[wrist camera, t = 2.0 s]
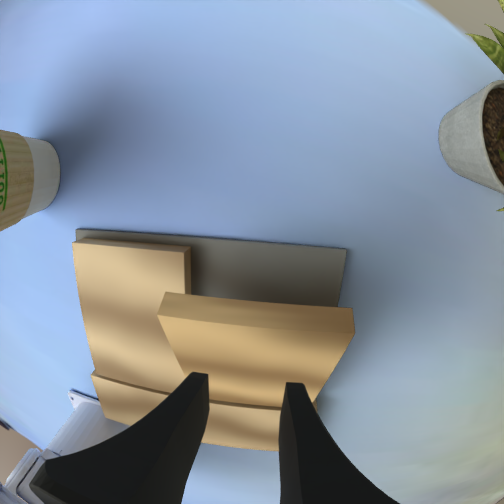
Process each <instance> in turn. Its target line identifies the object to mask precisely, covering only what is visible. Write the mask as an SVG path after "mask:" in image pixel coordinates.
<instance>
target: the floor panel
mask: <svg viewBox="0 0 504 504" xmlns="http://www.w3.org/2000/svg"><path fill="white" fill-rule="evenodd" d="M75 231H76V241H75V242H72V247H73V257H74V266H75V274H76V281H77V287H78V294H79V300H80V305H81V311H82V316H83V321H84V326H85V330H86V335H87V339H88V343H89V347H90V351H91V355H92V359H93V363H94V367H95V370H94V371H93V373H92V374H91V378H92V381H93V384H94V387H95V390H96V393H97V396H98V399H99V402H100V405H101V408H102V410H103V413H104V416H105V418H108V419H111V420H114V421H117V422H120V423H123V424H127V425H130V426H131V425H133V424H134V423H136V422H137V421H139V420H140V419H141V418H143V417H144V416H145V415H147V414H148V413H149V412H150V411H152V410H153V409H154V408H155V407H157V406H158V405H159V404H160V403H161V402H162V401H163V400H164V399H165V398H166V397H168V396H169V395H170V394H171V393H172V392H173V391H174V390H175V389H176V388H177V387H178V386H179V385H180V384H181V383H182V382H183V380H184V379H185V378H186V377H185V375H184V373H183V371H182V369H181V367H180V365H179V363H178V361H177V359H176V356H175V354H174V352H173V350H172V348H171V346H170V344H169V341H168V339H167V337H166V335H165V332H164V330H163V328H162V326H161V323H160V321H159V319H158V316H157V313H158V310H159V308H160V305H161V302H162V299H163V296H164V294H165V292H173V293H181V294H189V295H198V296H207V297H216V298H226V299H236V300H246V301H257V302H268V303H281V304H294V305H308V306H324V307H338V301H339V296H340V290H341V284H342V278H343V272H344V266H345V259H346V253H347V250H346V249H343V248H331V247H320V246H308V245H296V244H284V243H271V242H259V241H246V240H233V239H220V238H207V237H193V236H179V235H165V234H151V233H136V232H121V231H106V230H90V229H76V230H75ZM316 398H317V397H316ZM316 398H315V400H314V401H313V402H312V404H313V406H314V408H315V410H316V412H317V403H316ZM209 405H210V411H209V416H208V420H207V425H206V429H205V433H204V435H203V438H202V441H201V442H202V443H208V444H214V445H221V446H228V447H235V448H244V449H254V450H266V451H279V444H278V437H279V421H280V413H281V408H282V407H276V406H263V405H252V404H242V403H234V402H226V401H218V400H212V399H209Z"/></svg>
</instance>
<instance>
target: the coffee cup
mask: <svg viewBox="0 0 504 504" xmlns="http://www.w3.org/2000/svg"><path fill="white" fill-rule="evenodd" d="M59 182H60V162H59V158H58V155H57V153H56V150H55V149H54V147H53V146H52V145H51V144H50V143H49V142H47V141H44V140H39V139H34V138H29V137H24V136H21V135H20V134H18V133H14V132H9V131H4V130H0V231H2V230H4V229H6V228H8V227H10V226H12V225H14V224H16V223H18V222H19V221H20V220H21V219H23V218H25V217H27V216H30V215H32V214H34V213H36V212H39V211H41V210H43V209H45V208H47V207H48V206H49V205H50V204H51V203H52V201H53V200H54V198H55V196H56V194H57V191H58V187H59Z"/></svg>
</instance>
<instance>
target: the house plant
mask: <svg viewBox="0 0 504 504" xmlns="http://www.w3.org/2000/svg"><path fill="white" fill-rule="evenodd" d="M498 1H499V3H500V5H501V7H502V10H503V12H504V0H498ZM487 26H489V25H487ZM489 27H490V28H491V29H492V31H493V33H494V34H495V36H496V38H497V40H498V41H499V43H500V44H501V46H502V47H503V48H502V47H501V46H500V45H499V44H498V43H496V42H495V41H493V40H491V39H489V38H486V37H484V36H480V35H475V34H467V35H470V36H471V37H472V38H473V39H474V41H475V42H476V43H477V45H478V46H479V47H480V48H481V49H482V51H483V52H484V53H485V54H486V55H487V56H488V57H489V58H490V59H491V60H492V61H493V63H494V64H495V65H496V66H497V67H498V68H499V69H500V70H501V71H502V73H503V74H504V33H503V32H501V31H499V30H497V29H496V28H493V27H492V26H489ZM439 144H440V150H441V152H442V155H443V157H444V159H445V161H446V163H447V164H448V166H449V167H450V168H451V169H452V170H453V171H454V172H455V173H457V174H458V175H460V176H462V177H465V178H467V179H470V180H472V181H474V182H477V183H479V184H482V185H484V186H486V187H488V188H491V189H493V190H495V191H497V192H499V193H502V194H504V80H498V81H495V82H492V83H490V84H489V85H487V86H486V87H484V88H483V89H481V90H480V91H479V92H477V93H476V94H474V95H473V96H471V97H470V98H468V99H467V100H465V101H464V102H462V103H461V104H459V105H458V106H456V107H455V108H454V109H452V110H451V111H449V112H448V113H447V114H446V115H445V116H444V117H443V119H442V121H441V123H440V127H439ZM497 211H504V208H502V209H499V210H497Z"/></svg>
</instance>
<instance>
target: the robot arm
mask: <svg viewBox="0 0 504 504" xmlns="http://www.w3.org/2000/svg"><path fill="white" fill-rule="evenodd" d="M68 395H69V398H70V400H71V402H72V405H73V407H74V409H75V410H74V411H73V413H72V414H71V415H70V417H69V418H68V419H67V421H66V422H65V423H64V425H63V426H62V427H61V429H60V430H59V431H58V433H57V434H56V435H55V437H54V438H53V439H52V441H51V442H50V443H49V445H48V446H47V447H46V449H44V450H43V451H42V453H40V451H39V450H38V449H37V448H35V449H29V450H28V451H27V453H26V454H25V455H24V457H23V458H22V459H21V461H20V462H19V463H18V465H17V466H16V467H15V469H14V470H13V471H12V473H11V474H10V475H9V477H8V478H7V480H6V483H5V485H4V486H3V485H2V483H1V482H0V504H27V503H28V504H181V502H182V498H183V494H184V489H185V485H186V482H187V479H188V476H189V473H190V470H191V468H192V465H193V462H194V460H195V457H196V454H197V452H198V449H199V446H200V444H201V441H202V438H203V435H204V433H205V429H206V425H207V420H208V416H209V411H210V405H209V377H208V374H206V373H199V372H191V373H190V374H189V375H188V376H187V377H186V378H185V379H184V380H183V382H182V383H181V384H180V385H179V386H178V387H177V388H176V389H175V390H174V391H173V392H172V393H171V394H170V395H169V396H168V397H166V398H165V399H164V400H163V401H162V402H161V403H160V404H159V405H158V406H157V407H155V408H154V409H153V410H152V411H150V412H149V413H148V414H147V415H145V416H144V417H143V418H141V419H140V420H139V421H137V422H136V423H134V424H133V425H131V426H130V425H127V424H123V423H120V422H117V421H114V420H111V419H108V418H105V416H104V413H103V410H102V408H101V405H100V402H99V401H98V400H96V399H93V398H90V397H87V396H84V395H82V394H79V393H76V392H74V391H71V390H70V391H69V392H68ZM278 444H279V463H280V483H281V496H280V504H400V503H398V502H397V501H395V500H393V499H392V498H391V497H389V496H388V495H386V494H385V493H384V492H383V491H381V490H380V489H379V488H377V487H376V486H375V485H374V484H373V483H372V482H371V481H370V480H368V479H367V478H366V477H365V476H364V475H363V474H362V473H361V472H360V471H359V470H358V469H357V468H356V467H355V466H354V465H353V464H352V463H351V461H350V460H349V459H348V458H347V457H346V456H345V454H344V453H343V452H342V451H341V449H340V448H339V447H338V445H337V444H336V443H335V441H334V440H333V438H332V437H331V435H330V434H329V432H328V431H327V429H326V427H325V426H324V424H323V422H322V421H321V419H320V417H319V415H318V414H317V412H316V410H315V408H314V406H313V404H312V402H311V399H310V397H309V395H308V392H307V390H306V387H305V385H304V384H303V383H296V382H286V386H285V391H284V397H283V403H282V408H281V413H280V421H279V437H278ZM17 494H18V496H20V497H21V498H22V499H23V500H25V501H26V502H27V503H26V502H24V501H23V500H21V499H20V498H19V497H17Z"/></svg>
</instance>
